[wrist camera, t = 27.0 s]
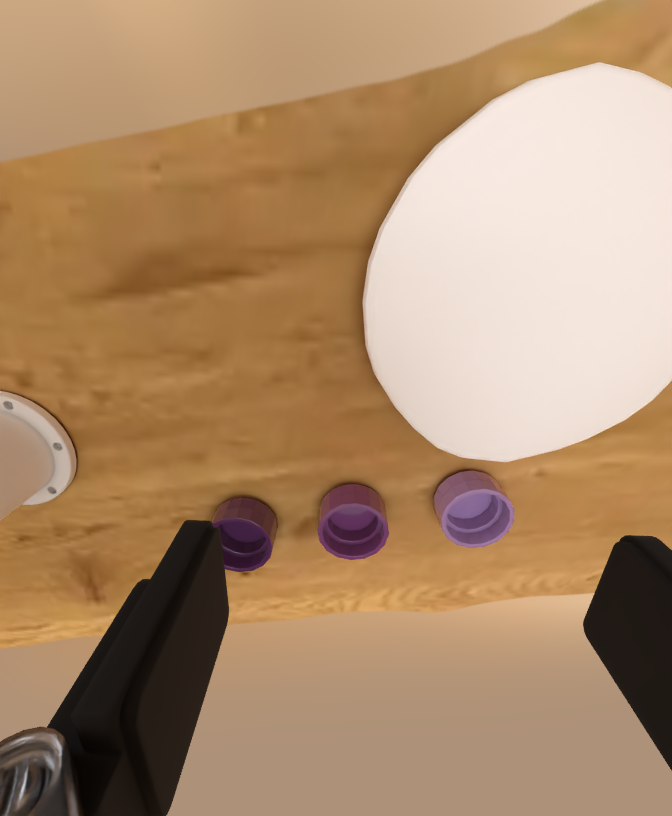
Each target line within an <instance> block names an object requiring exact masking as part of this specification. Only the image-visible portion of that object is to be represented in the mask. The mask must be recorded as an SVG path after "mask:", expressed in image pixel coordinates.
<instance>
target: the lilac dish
mask: <svg viewBox="0 0 672 816" xmlns="http://www.w3.org/2000/svg"><path fill="white" fill-rule="evenodd" d="M434 508H435V511H436V514H437V517H438V520H439V523H440V525H441V528H442V530H443V532H444V533H445V535H446V537H447V538H448V539H449V540H451V541H452V542H454V543H455V544H457V545H459V546H464V547H468V548H476V547H484V546H487V545H490V544H492V543H495V542H497V541H498V540H500V539H501V538H502V537H503V536H504V535H506V534H507V533H508V531H509V530H510V528H511V526H512V524H513V522H514V508H513V506H512V504H511V502H510V500H509V498H508V497H507V496H506V494H505V493H504V491H503V490H502V488H501V487H500V485H499V484H498V482H497V481H496V480H495V479H494V478H492V477H491V476H490V475H488V474H486V473H483V472H478V471H473V470H472V471H463V472H459V473H457V474H454V475H452V476H450V477H448V478H447V479H446V480H445V481H444V482H443V483H442V484H441V485H440V486H439V487H438V489H437V491H436V493H435V496H434Z"/></svg>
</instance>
